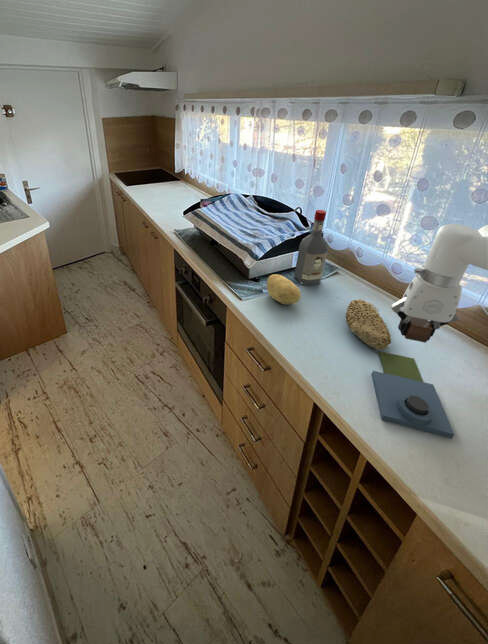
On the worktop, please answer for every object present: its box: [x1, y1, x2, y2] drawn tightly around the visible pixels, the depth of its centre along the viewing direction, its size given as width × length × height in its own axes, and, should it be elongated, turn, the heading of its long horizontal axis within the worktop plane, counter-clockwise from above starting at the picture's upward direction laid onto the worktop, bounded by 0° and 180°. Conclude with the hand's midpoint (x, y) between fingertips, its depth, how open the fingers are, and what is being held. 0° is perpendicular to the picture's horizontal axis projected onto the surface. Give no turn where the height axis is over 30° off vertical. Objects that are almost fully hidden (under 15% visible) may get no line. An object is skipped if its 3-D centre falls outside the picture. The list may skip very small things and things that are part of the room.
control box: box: [371, 370, 456, 439], centre depth 76 cm, size 14×14×4 cm
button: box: [406, 396, 428, 415], centre depth 72 cm, size 4×4×2 cm
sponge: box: [345, 298, 392, 350], centre depth 98 cm, size 13×8×20 cm
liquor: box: [293, 209, 329, 287], centre depth 121 cm, size 9×9×30 cm
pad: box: [378, 350, 424, 382], centre depth 86 cm, size 9×9×1 cm
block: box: [404, 317, 432, 344], centre depth 80 cm, size 5×5×5 cm
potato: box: [266, 273, 302, 306], centre depth 113 cm, size 10×14×10 cm
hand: (413, 333), depth 81 cm, fingers closed on block, 4 cm apart
